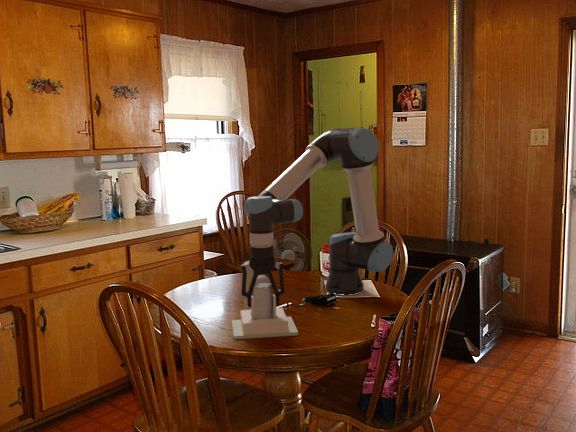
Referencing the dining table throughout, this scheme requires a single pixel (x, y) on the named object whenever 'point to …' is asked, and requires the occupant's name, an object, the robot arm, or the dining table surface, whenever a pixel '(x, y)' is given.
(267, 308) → the skincare box
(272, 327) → the holder
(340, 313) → the dining table surface
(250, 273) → the coffee cup
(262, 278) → the lightbulb
